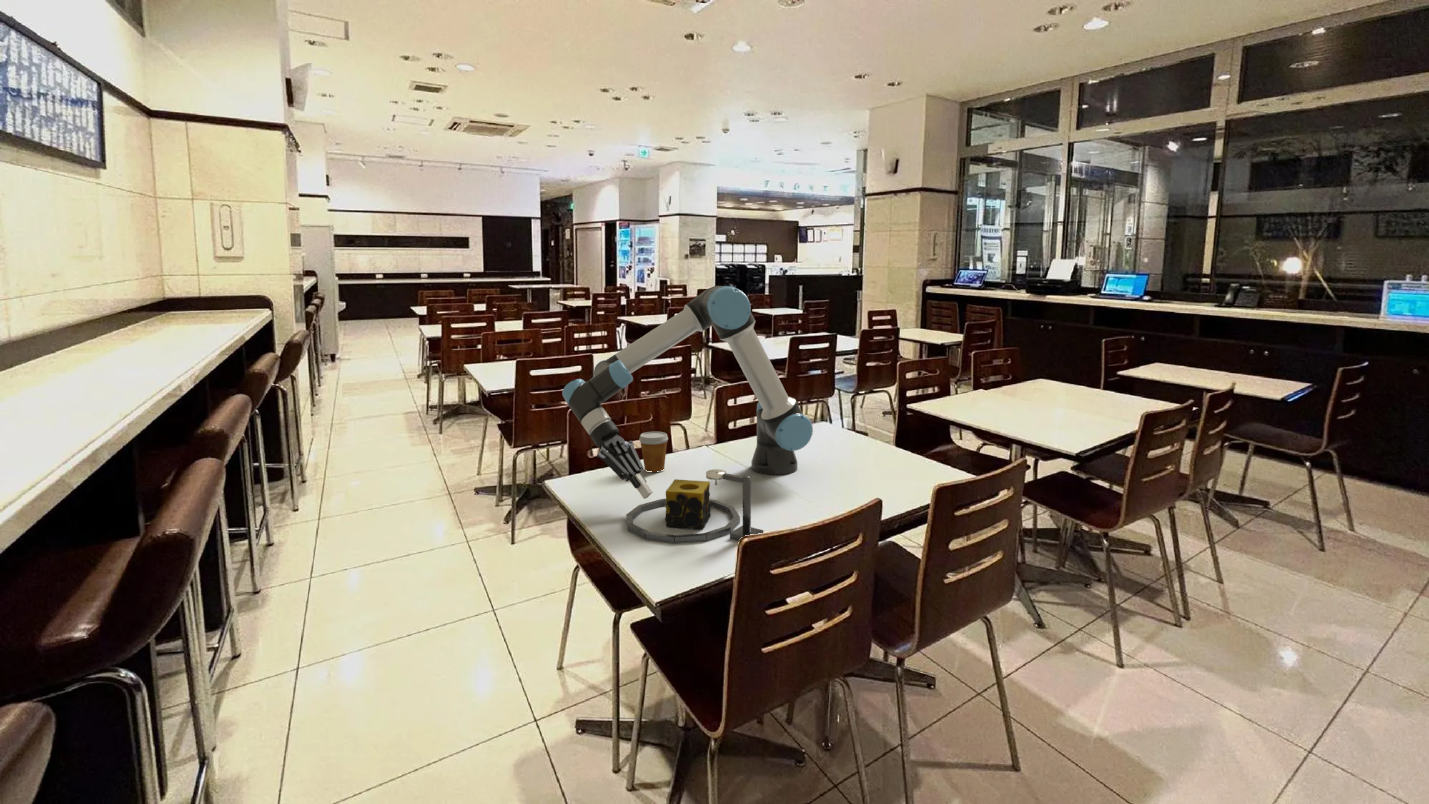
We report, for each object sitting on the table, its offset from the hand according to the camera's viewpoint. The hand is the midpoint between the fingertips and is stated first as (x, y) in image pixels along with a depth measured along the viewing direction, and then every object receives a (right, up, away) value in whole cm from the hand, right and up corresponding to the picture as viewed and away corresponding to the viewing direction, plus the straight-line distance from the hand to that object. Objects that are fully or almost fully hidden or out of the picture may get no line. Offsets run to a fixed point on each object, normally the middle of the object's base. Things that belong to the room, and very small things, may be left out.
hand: (648, 495), depth 186 cm
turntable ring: (+10, -6, -6) cm, 13 cm away
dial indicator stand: (+22, -7, -14) cm, 28 cm away
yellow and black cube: (+11, -6, -6) cm, 14 cm away
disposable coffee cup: (-2, +3, +40) cm, 40 cm away
